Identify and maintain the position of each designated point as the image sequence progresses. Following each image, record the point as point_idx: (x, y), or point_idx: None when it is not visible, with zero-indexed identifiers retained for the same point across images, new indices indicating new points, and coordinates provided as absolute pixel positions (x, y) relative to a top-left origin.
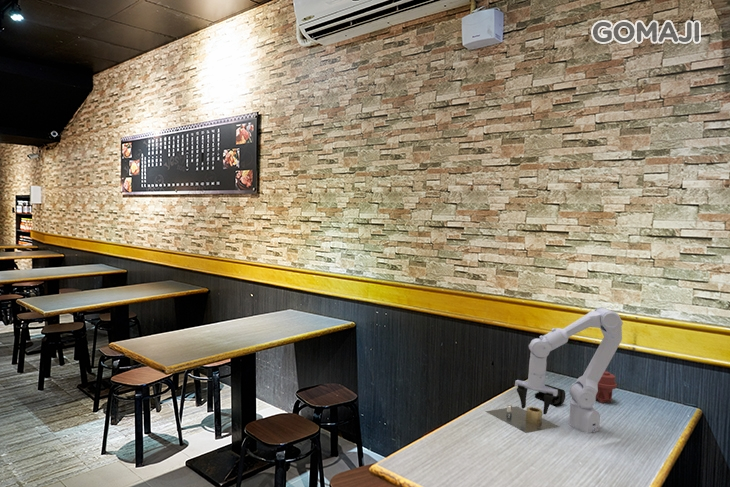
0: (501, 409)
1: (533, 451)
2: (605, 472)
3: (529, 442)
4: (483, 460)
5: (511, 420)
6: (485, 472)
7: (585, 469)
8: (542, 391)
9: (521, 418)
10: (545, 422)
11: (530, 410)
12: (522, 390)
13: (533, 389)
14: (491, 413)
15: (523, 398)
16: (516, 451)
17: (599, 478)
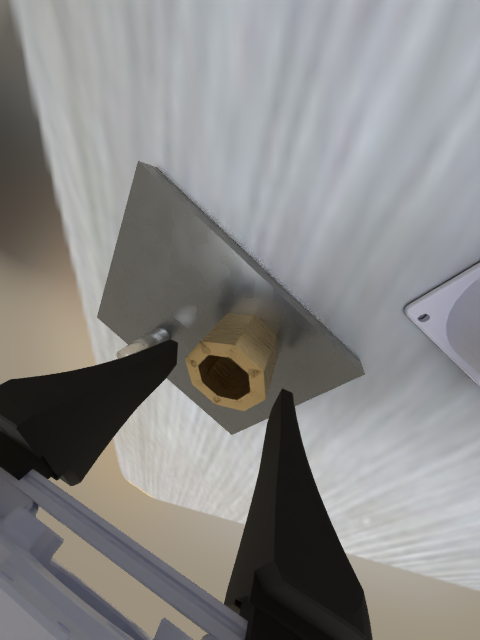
0: (115, 269)
1: (258, 473)
2: (425, 558)
3: (247, 443)
4: (192, 484)
5: (177, 364)
6: (203, 503)
7: (369, 538)
8: (189, 607)
9: (199, 336)
10: (296, 345)
11: (208, 391)
12: (70, 482)
13: (103, 535)
14: (115, 327)
15: (131, 409)
16: (227, 470)
17: (391, 562)
